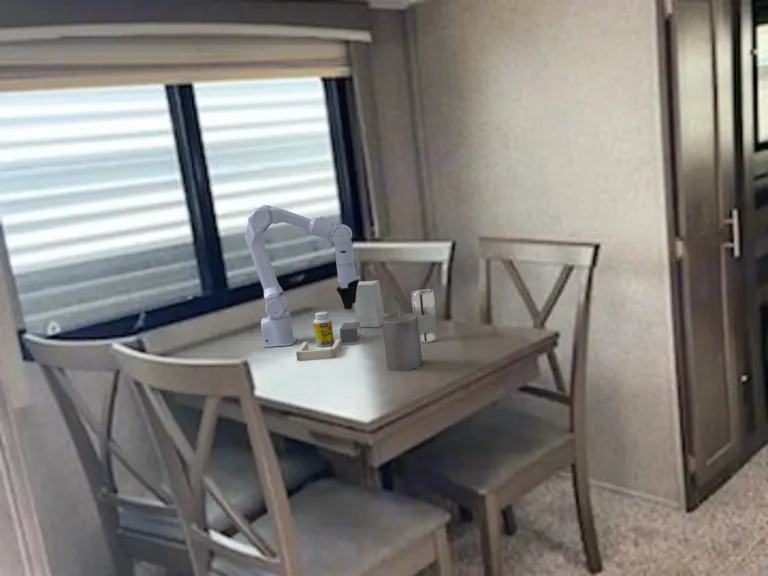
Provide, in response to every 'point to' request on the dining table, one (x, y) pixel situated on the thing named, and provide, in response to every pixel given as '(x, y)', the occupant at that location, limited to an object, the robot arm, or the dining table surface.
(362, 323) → the skincare box
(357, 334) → the box
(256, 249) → the robot arm
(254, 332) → the dining table surface
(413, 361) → the pillar candle
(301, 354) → the tray
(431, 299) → the beer glass
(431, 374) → the dining table surface
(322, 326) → the supplement bottle
